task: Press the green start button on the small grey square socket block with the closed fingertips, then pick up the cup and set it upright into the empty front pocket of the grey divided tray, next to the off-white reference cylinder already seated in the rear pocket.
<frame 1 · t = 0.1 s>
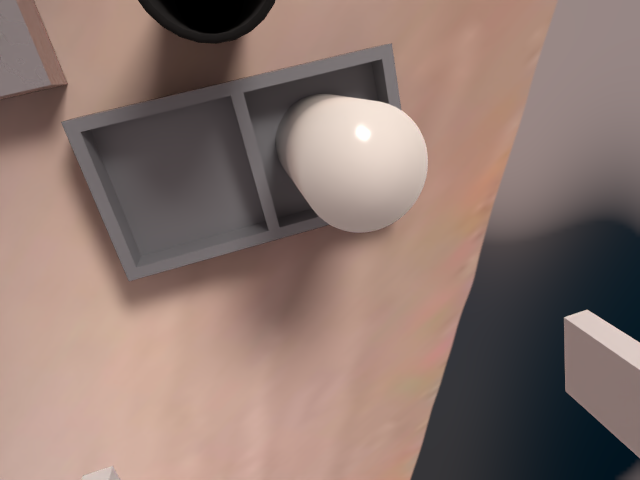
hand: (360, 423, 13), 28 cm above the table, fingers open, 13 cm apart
grey divided tray: (253, 157, 37), on the table
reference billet: (322, 142, 37), resting on grey divided tray
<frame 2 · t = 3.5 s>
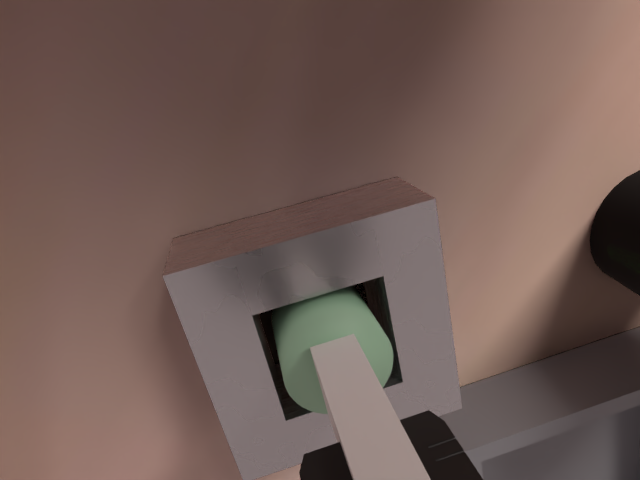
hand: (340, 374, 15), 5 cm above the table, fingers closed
grey divided tray: (631, 417, 26), on the table
grey square socket block: (313, 305, 19), on the table
start button: (327, 339, 17), point 3 cm above the table, slide at 1.0 cm, touching gripper
cup: (638, 223, 22), on the table
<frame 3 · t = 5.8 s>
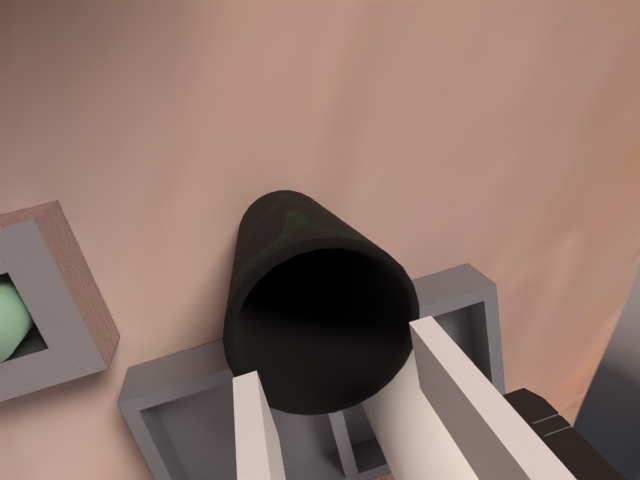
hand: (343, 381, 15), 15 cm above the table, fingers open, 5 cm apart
grey divided tray: (325, 385, 33), on the table
grey square socket block: (11, 294, 26), on the table
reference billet: (404, 368, 32), resting on grey divided tray
cup: (283, 232, 28), on the table
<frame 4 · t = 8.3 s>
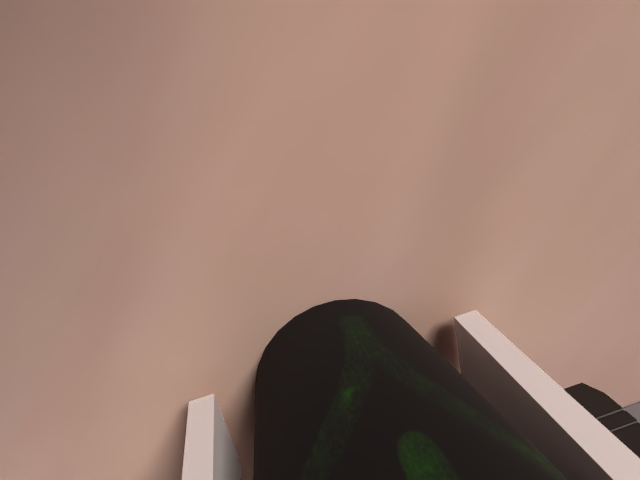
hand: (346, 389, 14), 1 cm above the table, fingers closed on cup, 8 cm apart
cup: (339, 371, 15), on the table, touching gripper
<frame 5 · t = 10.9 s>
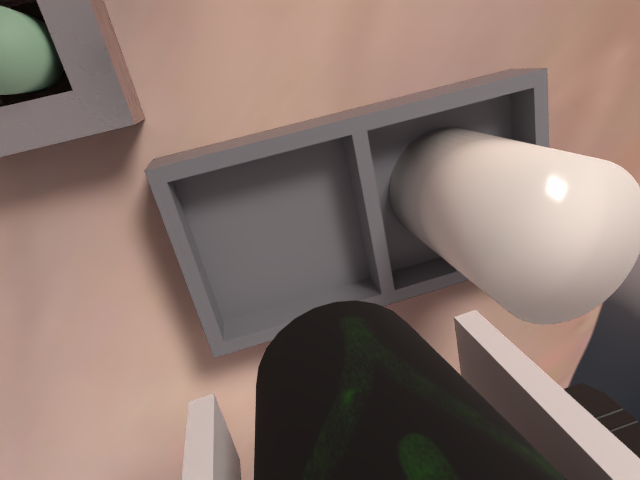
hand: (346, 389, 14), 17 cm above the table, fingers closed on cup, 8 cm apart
grey divided tray: (358, 203, 31), on the table
grey square socket block: (30, 54, 24), on the table
start button: (9, 51, 22), point 3 cm above the table, slide at 1.1 cm
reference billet: (442, 184, 31), resting on grey divided tray
cup: (339, 372, 15), point 16 cm above the table, touching gripper
when the fingers open (5 cm above the table, at t = 13.6 s): cup drops 3 cm, resting on grey divided tray.
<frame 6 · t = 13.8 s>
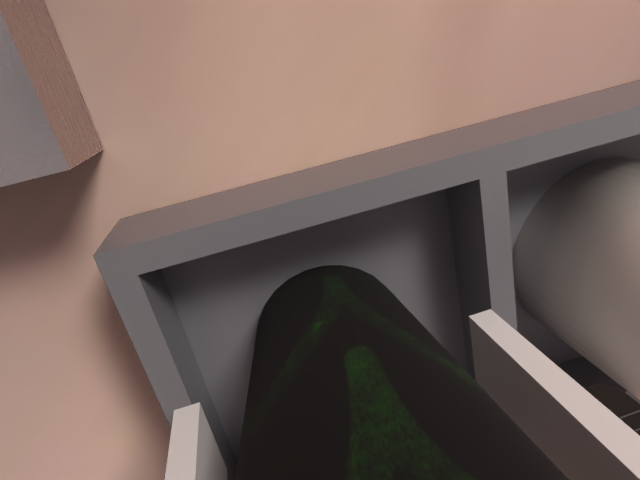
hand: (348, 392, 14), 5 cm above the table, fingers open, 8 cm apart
grey divided tray: (457, 277, 19), on the table
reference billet: (595, 249, 19), resting on grey divided tray
cup: (328, 329, 18), point 1 cm above the table, touching gripper, grey divided tray
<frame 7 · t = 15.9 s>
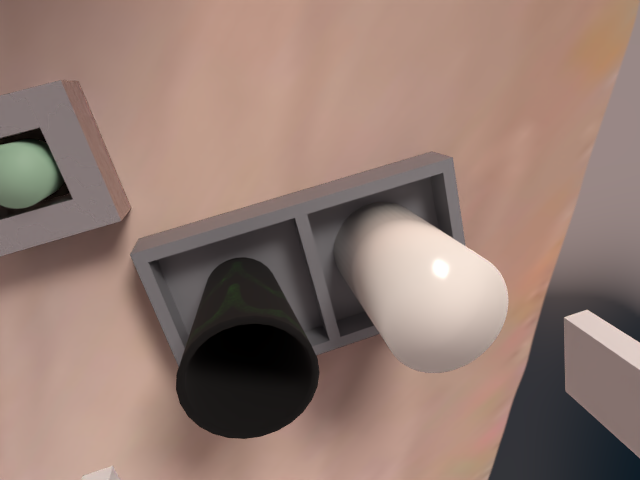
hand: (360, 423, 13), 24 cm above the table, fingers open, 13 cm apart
grey divided tray: (310, 264, 37), on the table
grey square socket block: (40, 165, 31), on the table
start button: (24, 172, 29), point 3 cm above the table, slide at 1.1 cm
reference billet: (379, 247, 37), resting on grey divided tray
cup: (241, 289, 36), point 1 cm above the table, touching grey divided tray
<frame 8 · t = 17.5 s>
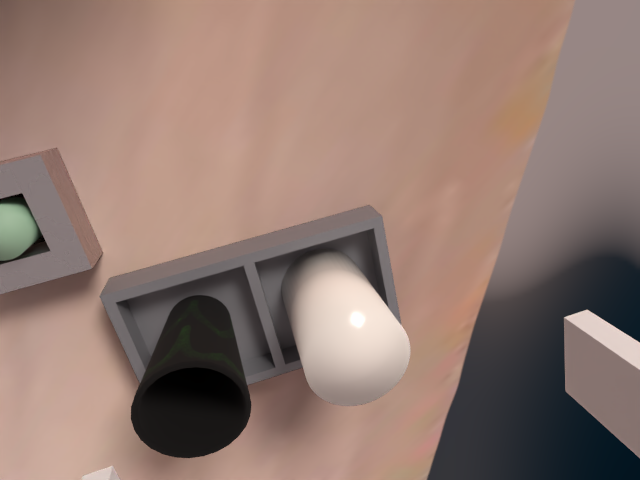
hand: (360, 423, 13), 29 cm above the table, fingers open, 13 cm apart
grey divided tray: (261, 299, 43), on the table
grey square socket block: (23, 217, 36), on the table
start button: (8, 227, 34), point 3 cm above the table, slide at 1.1 cm
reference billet: (322, 286, 42), resting on grey divided tray
cup: (199, 321, 41), point 1 cm above the table, touching grey divided tray
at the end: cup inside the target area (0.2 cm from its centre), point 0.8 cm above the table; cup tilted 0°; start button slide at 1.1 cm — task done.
